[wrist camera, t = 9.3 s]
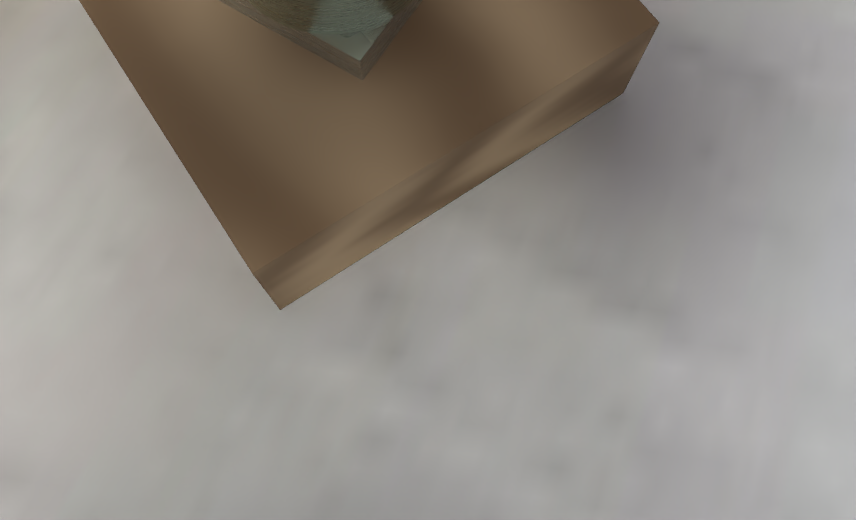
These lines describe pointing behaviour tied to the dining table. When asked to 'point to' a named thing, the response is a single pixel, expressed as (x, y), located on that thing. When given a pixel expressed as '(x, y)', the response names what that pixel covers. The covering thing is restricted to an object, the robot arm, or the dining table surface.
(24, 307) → the dining table surface
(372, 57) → the green drinking glass
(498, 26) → the walnut block
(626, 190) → the dining table surface
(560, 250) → the dining table surface
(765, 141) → the dining table surface
